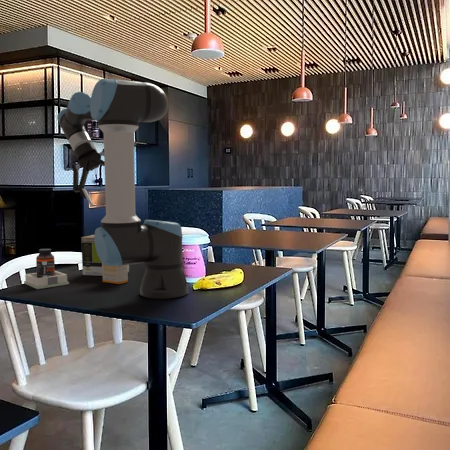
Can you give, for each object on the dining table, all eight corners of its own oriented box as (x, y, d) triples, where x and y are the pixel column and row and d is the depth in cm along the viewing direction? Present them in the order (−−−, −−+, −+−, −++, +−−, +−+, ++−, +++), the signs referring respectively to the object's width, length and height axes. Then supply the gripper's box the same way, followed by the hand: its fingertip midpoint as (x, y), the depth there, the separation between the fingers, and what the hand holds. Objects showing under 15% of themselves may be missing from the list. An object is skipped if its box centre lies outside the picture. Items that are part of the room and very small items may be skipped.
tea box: (129, 272, 192) (129, 234, 191) (118, 277, 183) (117, 237, 181) (95, 270, 196) (93, 233, 195) (81, 275, 186) (80, 236, 185)
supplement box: (128, 282, 174) (127, 245, 173) (118, 284, 170) (117, 247, 169) (112, 279, 178) (111, 243, 177) (101, 282, 174) (100, 245, 173)
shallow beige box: (68, 284, 171) (68, 274, 171) (37, 289, 164) (36, 279, 164) (54, 278, 180) (54, 270, 180) (24, 283, 173) (23, 274, 173)
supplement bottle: (49, 283, 168) (47, 250, 167) (33, 283, 170) (31, 250, 169) (58, 280, 174) (57, 248, 173) (43, 279, 176) (41, 247, 174)
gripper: (116, 135, 186) (141, 182, 182) (56, 166, 184) (80, 214, 180) (110, 127, 179) (137, 176, 175) (48, 159, 177) (74, 209, 173)
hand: (108, 195), depth 178 cm, fingers open, 13 cm apart
